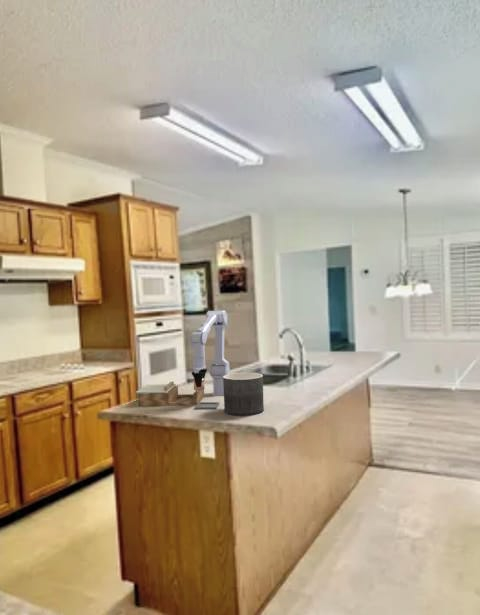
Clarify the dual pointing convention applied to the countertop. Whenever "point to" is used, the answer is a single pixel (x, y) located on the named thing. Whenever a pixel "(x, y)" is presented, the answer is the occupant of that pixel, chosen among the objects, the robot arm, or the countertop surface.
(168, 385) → the lid
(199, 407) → the tray
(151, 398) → the cold frame
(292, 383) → the countertop surface
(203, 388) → the pot
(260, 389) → the planter
